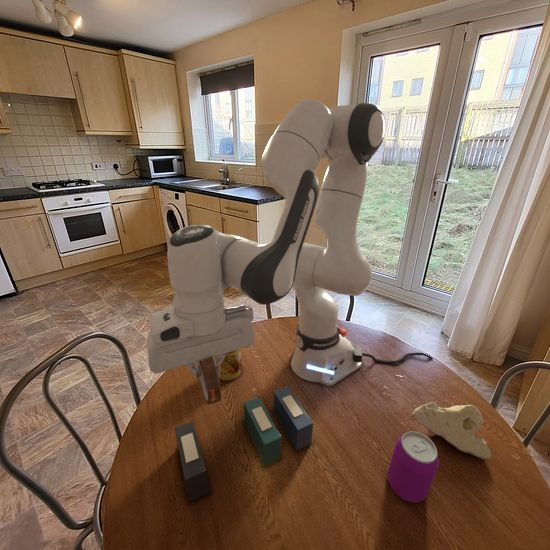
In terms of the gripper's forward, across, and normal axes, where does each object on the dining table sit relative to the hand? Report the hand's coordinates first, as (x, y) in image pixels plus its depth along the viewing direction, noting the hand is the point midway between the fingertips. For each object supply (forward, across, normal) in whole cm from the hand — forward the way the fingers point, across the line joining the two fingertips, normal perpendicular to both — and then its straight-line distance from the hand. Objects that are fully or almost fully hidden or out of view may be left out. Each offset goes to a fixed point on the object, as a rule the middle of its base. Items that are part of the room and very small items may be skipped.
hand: (206, 372), depth 59 cm
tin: (+3, 0, 0) cm, 3 cm away
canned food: (+21, -10, -21) cm, 31 cm away
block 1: (+21, +6, +4) cm, 22 cm away
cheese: (+21, -49, +23) cm, 58 cm away
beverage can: (+21, -33, +26) cm, 47 cm away
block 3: (+21, -18, +4) cm, 28 cm away
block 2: (+21, -10, +4) cm, 24 cm away
